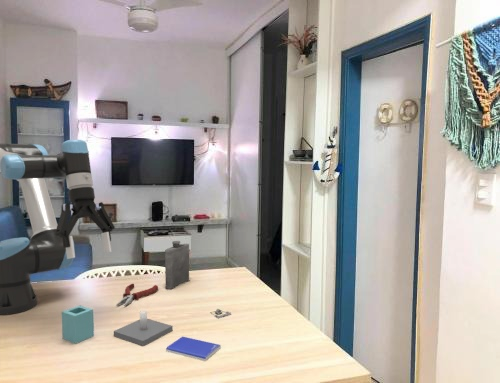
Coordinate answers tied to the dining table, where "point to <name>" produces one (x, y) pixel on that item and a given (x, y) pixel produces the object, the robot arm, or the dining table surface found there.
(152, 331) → the pin base
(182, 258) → the flask
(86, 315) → the block with square hole
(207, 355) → the hard drive
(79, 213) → the robot arm
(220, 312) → the grey rectangular frame
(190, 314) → the dining table surface
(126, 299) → the pliers
